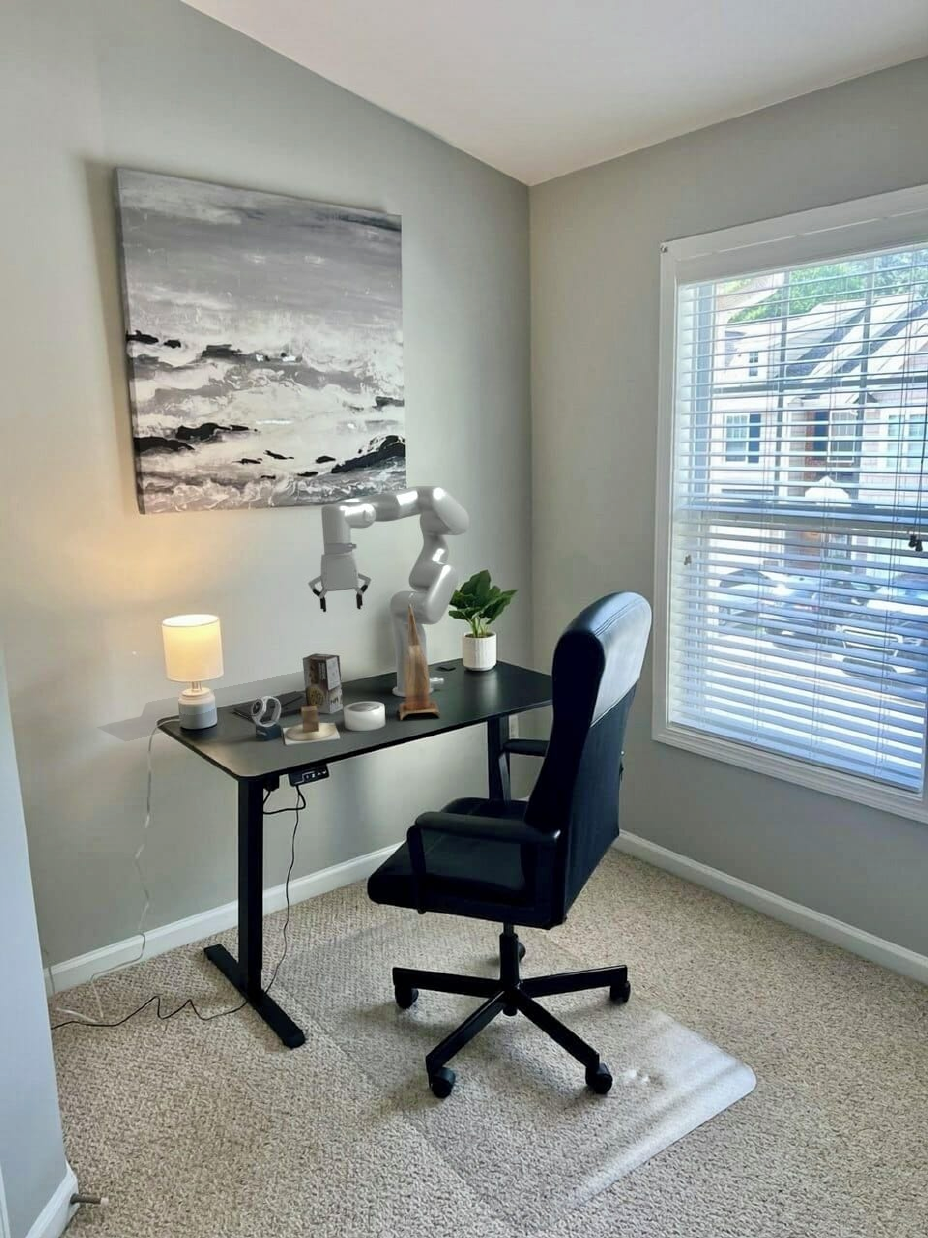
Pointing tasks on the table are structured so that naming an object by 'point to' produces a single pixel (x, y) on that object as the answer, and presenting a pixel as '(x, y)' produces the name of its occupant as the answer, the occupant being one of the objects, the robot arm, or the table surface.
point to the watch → (270, 728)
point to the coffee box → (323, 682)
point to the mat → (293, 742)
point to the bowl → (364, 716)
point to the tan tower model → (416, 675)
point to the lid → (310, 727)
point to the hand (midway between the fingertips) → (341, 610)
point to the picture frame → (288, 702)
